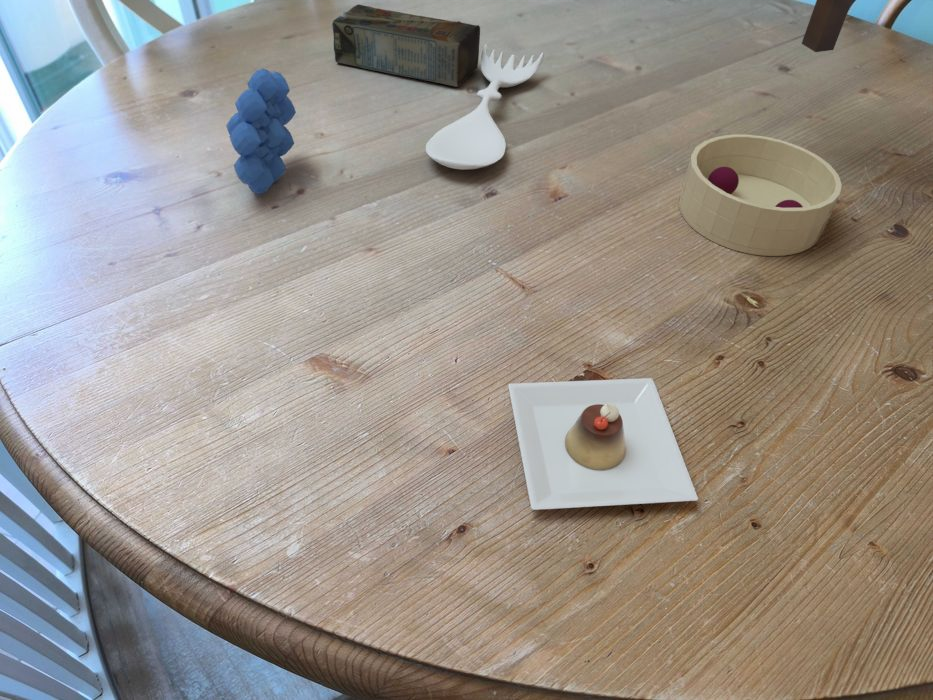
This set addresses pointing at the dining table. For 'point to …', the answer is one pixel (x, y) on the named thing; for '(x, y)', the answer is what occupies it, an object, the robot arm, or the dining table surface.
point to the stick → (825, 24)
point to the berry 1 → (724, 179)
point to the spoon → (480, 119)
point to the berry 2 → (789, 204)
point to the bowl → (759, 195)
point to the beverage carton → (407, 44)
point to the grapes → (262, 130)
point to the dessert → (597, 444)
